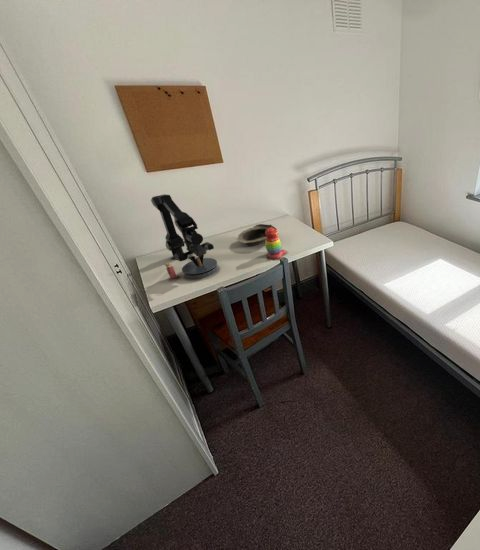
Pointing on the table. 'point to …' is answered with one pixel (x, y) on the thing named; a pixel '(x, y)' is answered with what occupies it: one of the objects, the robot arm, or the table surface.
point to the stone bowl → (254, 235)
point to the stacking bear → (273, 244)
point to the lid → (199, 266)
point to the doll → (171, 271)
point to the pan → (204, 275)
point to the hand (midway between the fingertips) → (199, 265)
